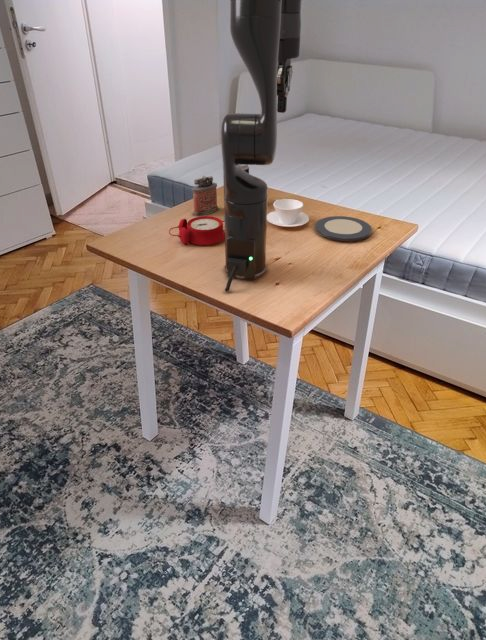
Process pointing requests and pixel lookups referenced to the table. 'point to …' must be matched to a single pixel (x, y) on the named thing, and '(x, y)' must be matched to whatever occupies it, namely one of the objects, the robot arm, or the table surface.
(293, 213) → the teacup
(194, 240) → the alarm clock
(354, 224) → the plate
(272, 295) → the table surface
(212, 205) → the lighter
